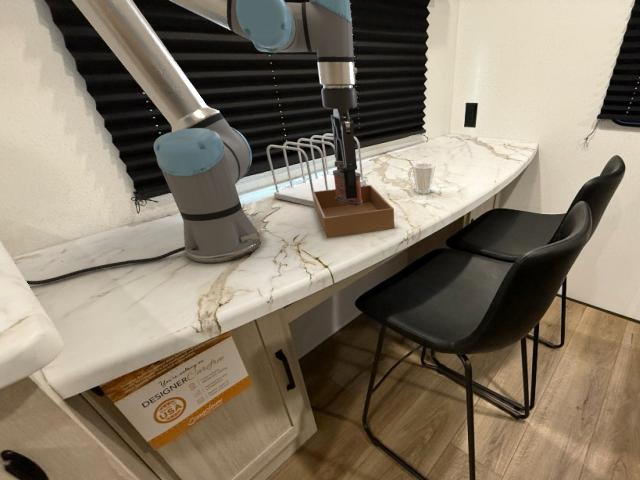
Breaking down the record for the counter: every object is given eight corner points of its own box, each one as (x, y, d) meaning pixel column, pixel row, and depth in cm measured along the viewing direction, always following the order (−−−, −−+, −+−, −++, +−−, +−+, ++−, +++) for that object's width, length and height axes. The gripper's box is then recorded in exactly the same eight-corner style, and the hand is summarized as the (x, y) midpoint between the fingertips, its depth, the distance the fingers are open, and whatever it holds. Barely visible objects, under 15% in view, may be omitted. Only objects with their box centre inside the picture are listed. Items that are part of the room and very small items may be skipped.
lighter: (365, 203, 84) (362, 162, 79) (357, 207, 82) (353, 165, 76) (341, 197, 88) (337, 158, 82) (333, 201, 86) (328, 161, 80)
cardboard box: (326, 238, 77) (323, 218, 74) (315, 209, 93) (312, 191, 90) (394, 227, 82) (393, 208, 79) (372, 201, 98) (370, 184, 95)
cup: (423, 196, 101) (424, 169, 96) (401, 189, 107) (401, 163, 102) (438, 191, 105) (440, 165, 100) (417, 185, 111) (417, 160, 106)
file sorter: (328, 178, 119) (322, 131, 110) (366, 185, 111) (363, 135, 102) (274, 198, 102) (261, 143, 93) (315, 208, 94) (305, 149, 85)
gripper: (366, 88, 64) (372, 204, 77) (346, 84, 79) (353, 181, 92) (328, 89, 62) (341, 207, 75) (314, 85, 77) (327, 184, 90)
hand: (348, 193), depth 84 cm, fingers closed on lighter, 7 cm apart
